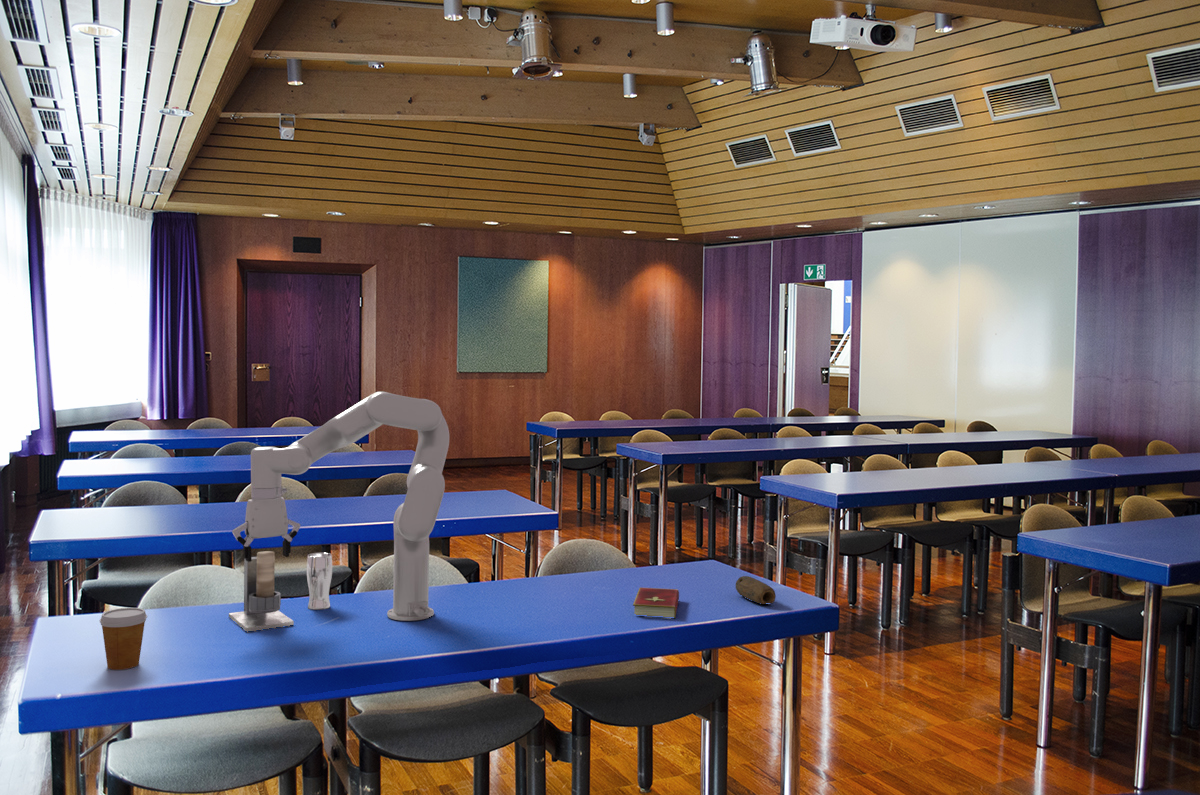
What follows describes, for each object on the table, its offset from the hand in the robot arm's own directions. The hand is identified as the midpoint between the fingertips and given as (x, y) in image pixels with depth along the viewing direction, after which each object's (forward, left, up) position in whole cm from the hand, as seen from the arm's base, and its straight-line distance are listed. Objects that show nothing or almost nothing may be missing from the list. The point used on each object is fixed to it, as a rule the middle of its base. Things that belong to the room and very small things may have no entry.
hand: (267, 558), depth 238 cm
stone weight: (-52, -130, -18) cm, 141 cm away
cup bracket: (+4, 0, -18) cm, 18 cm away
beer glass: (+10, -18, -18) cm, 27 cm away
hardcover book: (-43, -99, -18) cm, 109 cm away
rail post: (0, 0, -13) cm, 13 cm away
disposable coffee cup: (-17, +36, -18) cm, 44 cm away
